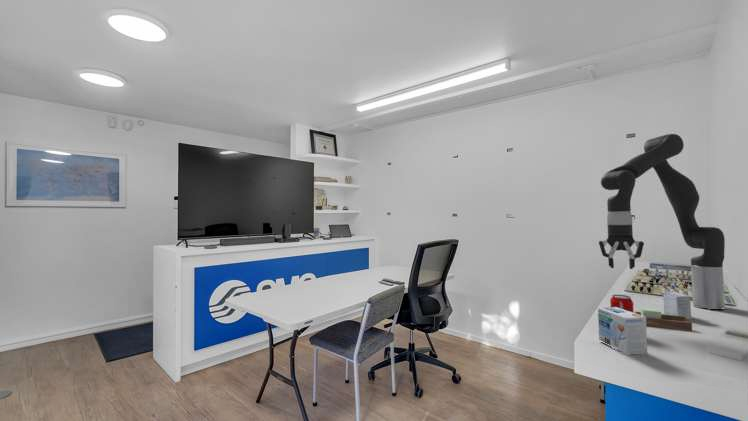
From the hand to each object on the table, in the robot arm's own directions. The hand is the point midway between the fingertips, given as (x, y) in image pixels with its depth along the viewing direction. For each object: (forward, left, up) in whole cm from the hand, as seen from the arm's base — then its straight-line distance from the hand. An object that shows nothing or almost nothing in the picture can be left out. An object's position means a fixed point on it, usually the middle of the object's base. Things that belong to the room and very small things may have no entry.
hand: (621, 268), depth 123 cm
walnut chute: (0, +11, -19) cm, 22 cm away
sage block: (0, +8, -20) cm, 21 cm away
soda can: (+15, -2, -20) cm, 25 cm away
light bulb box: (+31, -4, -20) cm, 37 cm away
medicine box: (-13, +18, -20) cm, 30 cm away
